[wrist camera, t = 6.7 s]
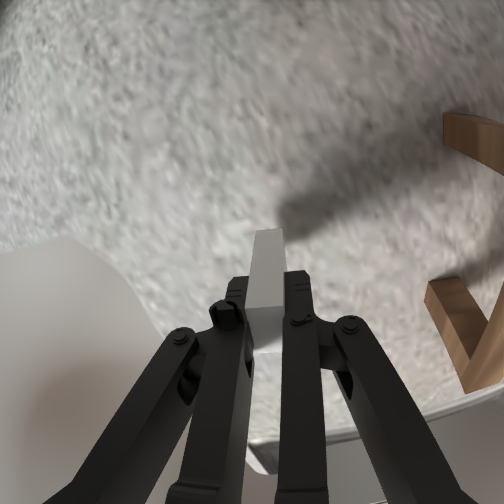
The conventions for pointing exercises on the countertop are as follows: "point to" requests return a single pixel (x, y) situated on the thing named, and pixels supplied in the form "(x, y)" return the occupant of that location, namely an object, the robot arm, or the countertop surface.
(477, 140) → the bridge
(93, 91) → the countertop surface
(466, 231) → the countertop surface
